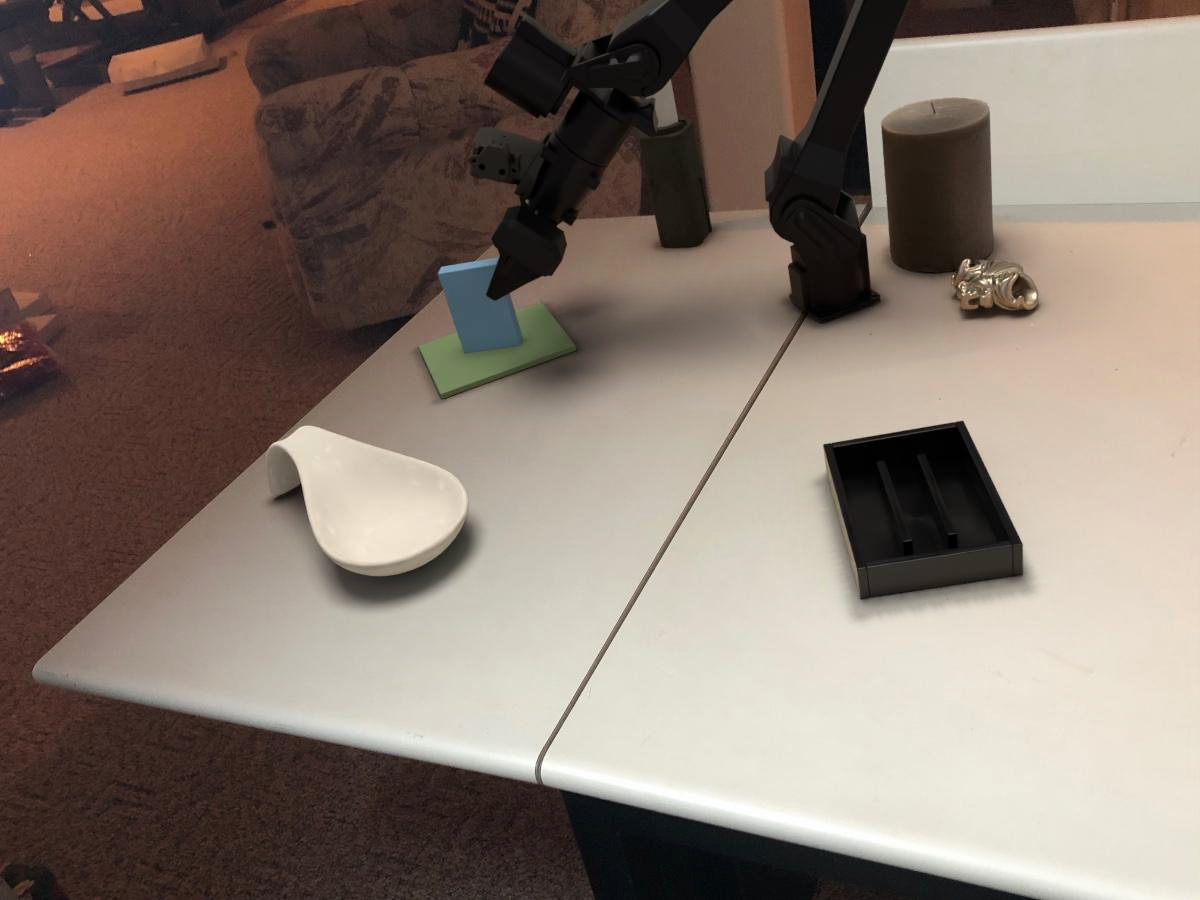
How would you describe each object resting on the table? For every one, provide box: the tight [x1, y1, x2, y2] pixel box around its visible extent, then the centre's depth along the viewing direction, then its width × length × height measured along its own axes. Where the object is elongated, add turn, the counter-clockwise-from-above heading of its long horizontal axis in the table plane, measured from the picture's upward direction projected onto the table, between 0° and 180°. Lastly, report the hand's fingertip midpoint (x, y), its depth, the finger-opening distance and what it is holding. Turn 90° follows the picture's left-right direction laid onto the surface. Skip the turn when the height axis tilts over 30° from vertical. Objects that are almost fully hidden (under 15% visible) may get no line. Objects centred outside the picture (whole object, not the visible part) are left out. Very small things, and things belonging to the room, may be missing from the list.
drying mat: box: [418, 301, 577, 400], centre depth 110 cm, size 14×12×1 cm
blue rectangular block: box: [437, 256, 523, 353], centre depth 108 cm, size 6×2×9 cm, turn 84°
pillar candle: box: [880, 96, 994, 273], centre depth 103 cm, size 10×10×15 cm
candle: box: [638, 78, 713, 248], centre depth 116 cm, size 5×5×25 cm
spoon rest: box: [264, 425, 470, 577], centre depth 87 cm, size 24×12×7 cm, turn 46°
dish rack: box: [822, 420, 1024, 600], centre depth 73 cm, size 14×10×4 cm
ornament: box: [950, 259, 1040, 312], centre depth 95 cm, size 8×7×4 cm
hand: (499, 276), depth 105 cm, fingers open, 9 cm apart
